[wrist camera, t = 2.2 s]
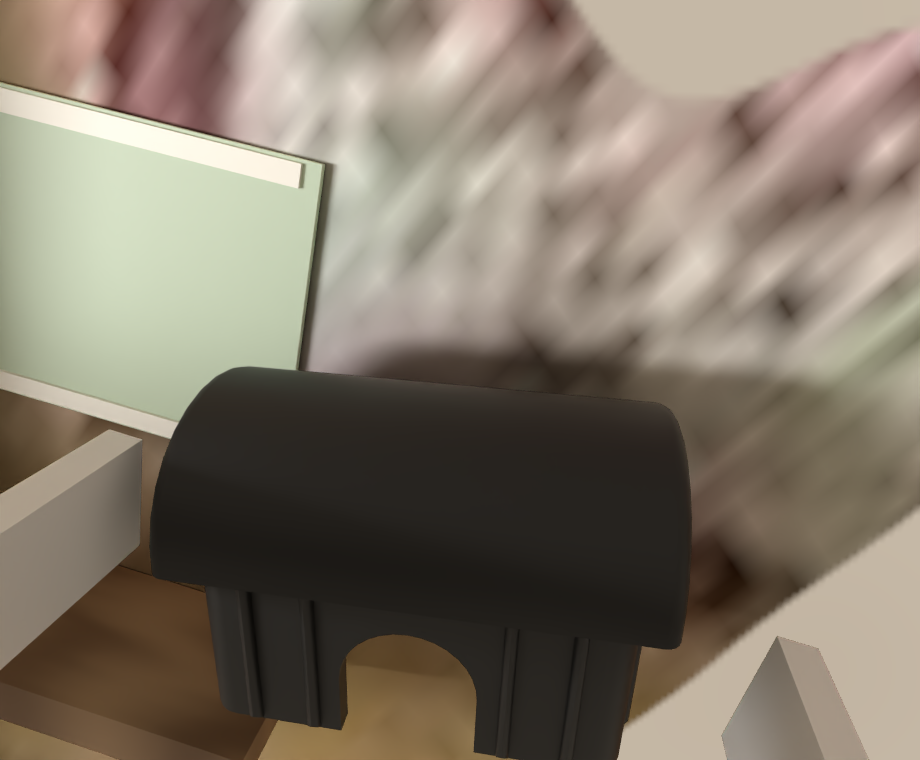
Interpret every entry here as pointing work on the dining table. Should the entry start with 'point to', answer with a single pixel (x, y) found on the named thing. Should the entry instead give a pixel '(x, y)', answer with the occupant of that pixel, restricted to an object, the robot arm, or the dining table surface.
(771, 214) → the dining table surface
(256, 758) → the brown l-shaped piece
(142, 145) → the pad
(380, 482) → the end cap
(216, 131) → the dining table surface
